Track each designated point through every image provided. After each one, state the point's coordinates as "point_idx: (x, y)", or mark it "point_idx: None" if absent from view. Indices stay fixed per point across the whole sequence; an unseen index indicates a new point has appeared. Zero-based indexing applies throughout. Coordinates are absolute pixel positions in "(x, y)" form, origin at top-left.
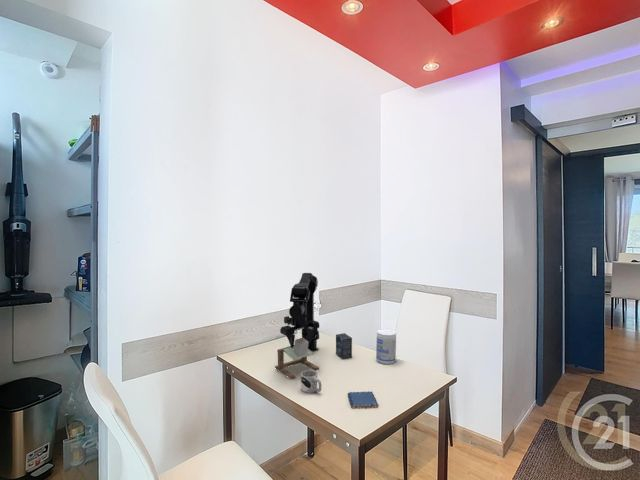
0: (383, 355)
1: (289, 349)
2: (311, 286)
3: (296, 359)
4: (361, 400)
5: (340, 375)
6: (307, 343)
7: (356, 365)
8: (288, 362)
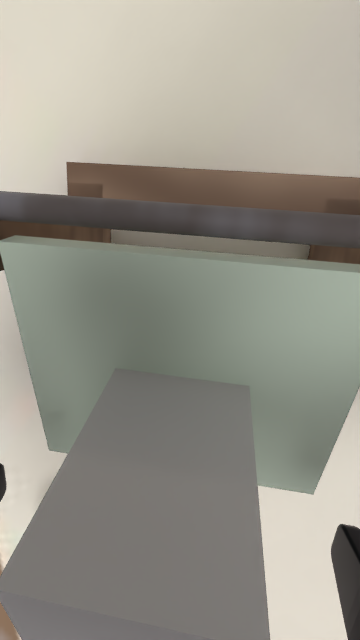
0: None
1: (87, 299)
2: None
3: (306, 175)
4: None
5: (328, 542)
6: None
7: None
8: (201, 179)
